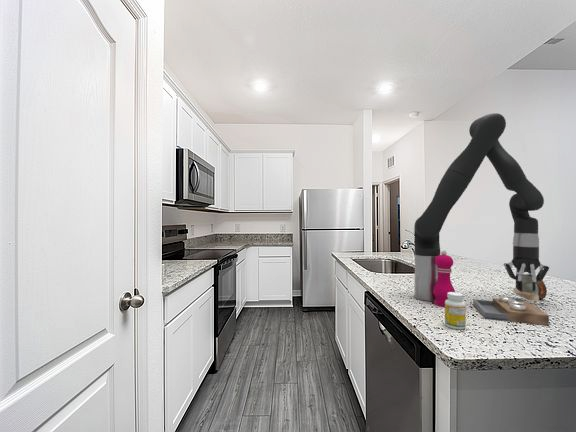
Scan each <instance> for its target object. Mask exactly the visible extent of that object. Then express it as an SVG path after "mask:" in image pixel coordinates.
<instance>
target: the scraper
mask: <svg viewBox="0 0 576 432" xmlns="http://www.w3.org/2000/svg"><path fill="white" fill-rule="evenodd" d="M521 281H522V291H518V289H516V287H513V294H515V295H517V296H519V297H521V298H523V299H525V300H526V301H534V302H535V301H536V302H539V301H540V299H539V295H537V294H534V293H532V276H530V275H523V276H522V280H521Z"/></svg>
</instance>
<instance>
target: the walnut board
mask: <svg viewBox="0 0 576 432" xmlns="http://www.w3.org/2000/svg"><path fill="white" fill-rule="evenodd" d="M491 301H493V306H494V307H495V308H496V309H497V310H498V311H499V312H500V313H503V314H508V321H507V322H513V323H520V322H521V323H523V324H529V325H530V324H532V325H540V326H548V327H549V326H550V315H549V314H547V313H546V312H544V311H542V310H541V309H540V308H539V307H536V306H535V305H534V304H532V303H530V302H528V300H521V301H522V302H524V305H525V306H526V311H515V310H511V309H510V308H509V305H508V303H503V302H500V301H499V298H495V297H494V298H493V297H492V299H491ZM521 323H520V324H521Z"/></svg>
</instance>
